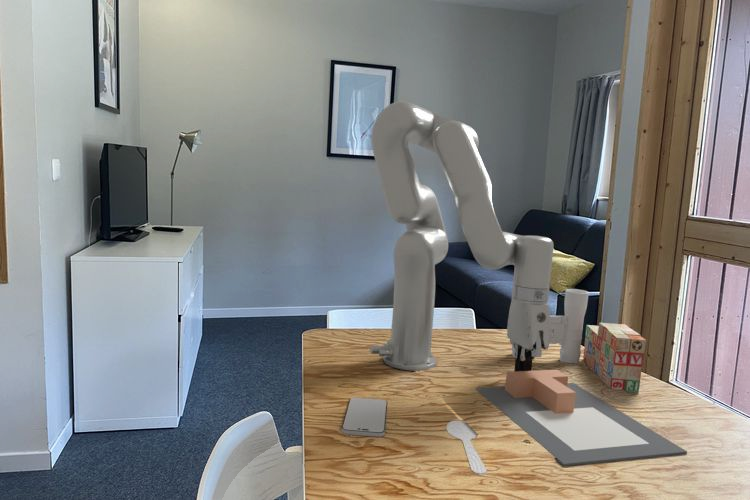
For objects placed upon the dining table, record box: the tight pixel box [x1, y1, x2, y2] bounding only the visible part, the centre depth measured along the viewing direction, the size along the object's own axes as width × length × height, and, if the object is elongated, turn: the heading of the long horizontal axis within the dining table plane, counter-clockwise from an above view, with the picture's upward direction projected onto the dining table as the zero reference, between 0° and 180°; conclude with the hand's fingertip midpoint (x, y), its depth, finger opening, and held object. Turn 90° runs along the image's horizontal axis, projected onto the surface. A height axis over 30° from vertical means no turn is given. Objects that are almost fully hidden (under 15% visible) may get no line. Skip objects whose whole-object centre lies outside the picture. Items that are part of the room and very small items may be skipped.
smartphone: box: [341, 397, 388, 438], centre depth 99 cm, size 7×1×15 cm
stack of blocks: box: [582, 322, 647, 394], centre depth 129 cm, size 21×6×12 cm, turn 175°
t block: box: [505, 369, 576, 414], centre depth 111 cm, size 12×12×4 cm
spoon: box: [446, 419, 488, 475], centre depth 91 cm, size 5×18×1 cm, turn 3°
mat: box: [474, 382, 688, 467], centre depth 104 cm, size 24×31×1 cm
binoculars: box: [511, 288, 590, 365], centre depth 138 cm, size 17×5×18 cm, turn 80°
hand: (522, 376), depth 120 cm, fingers closed
